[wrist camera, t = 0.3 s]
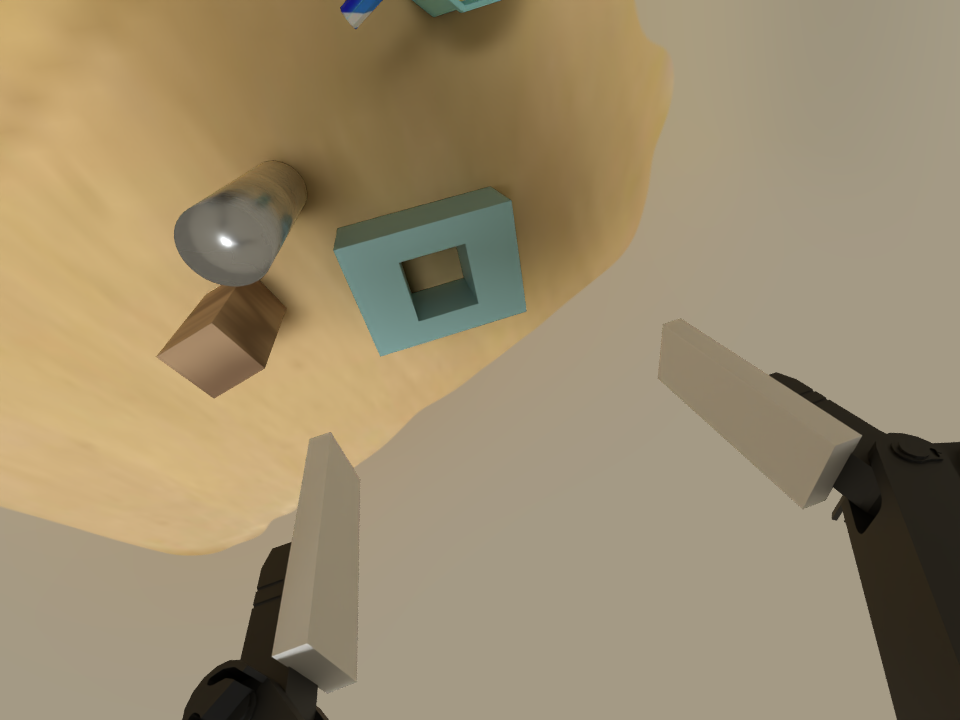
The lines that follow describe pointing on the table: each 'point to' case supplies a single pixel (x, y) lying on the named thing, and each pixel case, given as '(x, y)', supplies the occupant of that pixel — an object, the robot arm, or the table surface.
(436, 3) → the cup
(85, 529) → the table surface
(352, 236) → the socket block
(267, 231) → the round dowel
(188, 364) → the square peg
